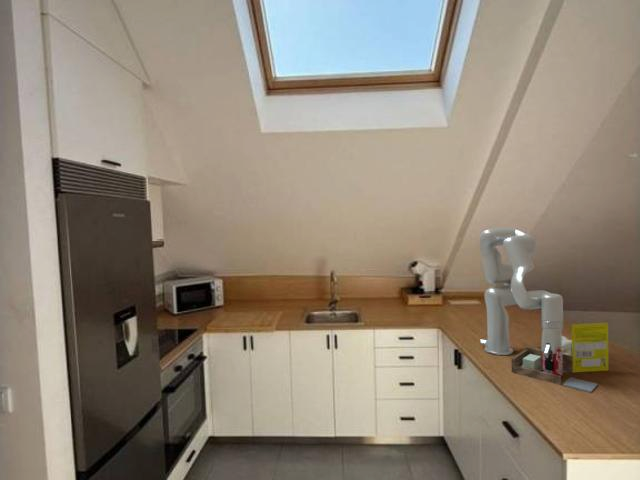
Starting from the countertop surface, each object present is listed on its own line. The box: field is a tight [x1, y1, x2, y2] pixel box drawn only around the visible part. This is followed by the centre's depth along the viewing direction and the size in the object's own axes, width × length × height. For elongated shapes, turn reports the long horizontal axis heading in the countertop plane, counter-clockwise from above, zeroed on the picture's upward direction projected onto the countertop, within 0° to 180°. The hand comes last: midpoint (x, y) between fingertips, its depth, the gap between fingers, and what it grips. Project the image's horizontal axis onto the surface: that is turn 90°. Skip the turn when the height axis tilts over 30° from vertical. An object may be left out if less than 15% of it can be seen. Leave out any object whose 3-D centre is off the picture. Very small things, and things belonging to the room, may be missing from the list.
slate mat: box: [562, 376, 598, 394], centre depth 145 cm, size 9×9×1 cm
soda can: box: [542, 347, 564, 377], centre depth 155 cm, size 7×7×12 cm
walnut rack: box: [511, 346, 574, 385], centre depth 159 cm, size 18×16×7 cm
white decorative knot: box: [561, 335, 572, 356], centre depth 174 cm, size 11×12×9 cm
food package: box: [571, 322, 609, 373], centre depth 157 cm, size 15×1×20 cm, turn 92°
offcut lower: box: [521, 363, 543, 371], centre depth 161 cm, size 5×9×3 cm, turn 130°
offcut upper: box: [523, 354, 541, 368], centre depth 161 cm, size 4×8×3 cm, turn 131°
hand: (552, 367), depth 156 cm, fingers closed on soda can, 6 cm apart
